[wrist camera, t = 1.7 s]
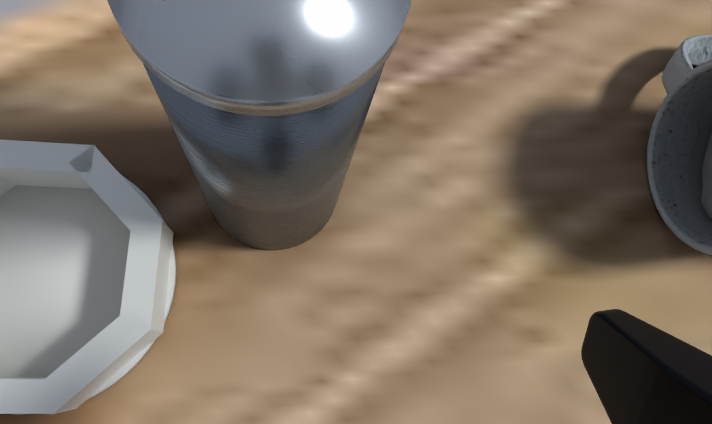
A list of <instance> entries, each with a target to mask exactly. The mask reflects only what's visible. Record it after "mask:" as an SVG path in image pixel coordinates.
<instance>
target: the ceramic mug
mask: <svg viewBox="0 0 712 424" xmlns="http://www.w3.org/2000/svg"><path fill="white" fill-rule="evenodd" d="M692 65H699V66H697V67H696V68H694V69H693V67H692ZM662 80H663V84H664V87H665V90H666V92H667V96H666V97H665V99H664V101H663V103H662V105H661V106H660V108H659V109H658V111H657V114H656V117H655V119H654V122H653V124H652V127H651V132H650V136H649V141H648V147H647V173H648V180H649V186H650V190H651V193H652V197H653V200H654V202H655V205H656V208H657V210H658V212H659V214H660V215H661V217H662V219H663V220H664V222H665V224H666V225H667V226H668V227H669V228H670V229H671V231H672V232H673V233H674V234H675V235H676V236H677V237H678V238H679V239H680V240H681V241H683V242H684V243H686V244H687V245H689V246H690V247H692V248H694V249H696V250H698V251H700V252H702V253H705V254H708V255H711V256H712V35H699V36H693V37H690V38H687V39H686V40H685V41H683V42H682V43H681V45H680V46H679V47H678V48H677V50H676V51H675V53H674V54H673V56H672V57H671V59H670V60H669V62H668V63H667V65H666V67H665V69H664V71H663V75H662Z"/></svg>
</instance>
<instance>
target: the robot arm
mask: <svg viewBox="0 0 712 424" xmlns="http://www.w3.org/2000/svg"><path fill="white" fill-rule="evenodd" d="M581 355H582V360H583V364H584V366H585V368H586V370H587V373H588V375H589V377H590V379H591V381H592V383H593V385H594V387H595V389H596V392H597V394H598V396H599V398H600V400H601V402H602V404H603V406H604V408H605V410H606V413H607V415H608V417H609V419H610V421H611V423H612V424H712V356H711V355H709V354H707V353H705V352H703V351H701V350H699V349H697V348H695V347H693V346H691V345H689V344H687V343H685V342H683V341H682V340H680V339H678V338H676V337H674V336H672V335H670V334H668V333H666V332H664V331H662V330H660V329H658V328H656V327H654V326H652V325H650V324H648V323H646V322H644V321H642V320H640V319H638V318H636V317H634V316H632V315H630V314H628V313H626V312H624V311H622V310H619V309H612V310H605V311H598V312H595V313H594V314H593V315H592V316H591V317H590V320H589V324H588V327H587V331H586V334H585V338H584V342H583V345H582V352H581Z"/></svg>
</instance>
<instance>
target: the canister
mask: <svg viewBox="0 0 712 424" xmlns="http://www.w3.org/2000/svg"><path fill="white" fill-rule="evenodd" d="M107 1H108V3H109V5H110V8H111V10H112V12H113V15H114V17H115V19H116V21H117V23H118V25H119V27H120V29H121V31H122V33H123V35H124V37H125V39H126V40H127V42H128V44H129V45H130V47H131V48H132V50H133V52H134V53H135V54H136V55H137V56H138V58H139V59H140V60H141V61H142V62H143V64H144V67H145V69H146V71H147V73H148V75H149V77H150V80H151V82H152V84H153V86H154V88H155V90H156V93H157V95H158V97H159V99H160V101H161V103H162V105H163V108H164V110H165V112H166V114H167V116H168V118H169V121H170V123H171V125H172V127H173V129H174V131H175V134H176V136H177V138H178V140H179V142H180V144H181V146H182V149H183V151H184V153H185V155H186V157H187V159H188V162H189V164H190V166H191V168H192V170H193V172H194V175H195V177H196V179H197V181H198V183H199V185H200V187H201V190H202V192H203V194H204V196H205V198H206V200H207V203H208V205H209V207H210V209H211V211H212V213H213V215H214V217H215V219H216V220H217V222H218V223H219V225H220V226H221V227H222V228H223V230H225V231H226V232H227V233H228V234H229V235H230V236H231V237H233V238H234V239H236V240H237V241H239V242H241V243H243V244H245V245H248V246H250V247H253V248H257V249H263V250H282V249H288V248H291V247H295V246H297V245H300V244H302V243H304V242H306V241H308V240H309V239H311V238H312V237H313V236H315V235H316V234H317V233H318V232H319V231H320V230H321V229H322V228H323V227H324V226H325V224H326V223H327V222H328V220H329V219H330V217H331V215H332V213H333V210H334V208H335V205H336V202H337V199H338V196H339V193H340V191H341V188H342V185H343V182H344V179H345V176H346V173H347V170H348V167H349V165H350V162H351V159H352V156H353V153H354V150H355V147H356V144H357V142H358V139H359V136H360V133H361V130H362V127H363V124H364V121H365V118H366V116H367V113H368V110H369V107H370V104H371V101H372V98H373V95H374V93H375V90H376V87H377V84H378V81H379V78H380V75H381V72H382V69H383V67H384V64H385V61H386V60H387V59H388V57H389V56H390V54H391V52H392V50H393V49H394V47H395V45H396V43H397V41H398V38H399V36H400V33H401V31H402V28H403V25H404V23H405V20H406V17H407V14H408V12H409V9H410V5H411V0H107Z"/></svg>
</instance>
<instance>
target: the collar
mask: <svg viewBox="0 0 712 424" xmlns="http://www.w3.org/2000/svg"><path fill="white" fill-rule="evenodd" d="M173 234H174V233H173V231H172V230H171V229H170V228H169V227H168V225H167V224H166V223H165V221H164V220H163V218H162V216H161V215H160V213H159V211H158V210H157V208H156V207H155V206H154V205H153V203H152V202H151V201H150V200H149V198H148V197H147V196H146V195H145V194H144V193H143V192H142V191H141V190H140V189H139V188H138V187H137V186H136V185H135V184H133V183H132V182H130V181H129V180H128V179H126V178H125V177H123V176H122V175H121V174H120V173H119V172H118V171H117V170H116V169H115V168H114V167H113V166H112V165H111V163H110V162H109V161H108V160H107V159H106V158H105V157H104V156H103V154H102V153H101V152H100V151H99V150H98V149H97V147H96V146H95V145H83V144H66V143H50V142H33V141H16V140H0V414H18V415H19V414H57V413H61V412H65V411H70V410H74V409H77V408H78V407H79V406H80V405H81V404H82V403H83V402H85V401H86V400H87V399H89V398H91V397H93V396H96V395H98V394H99V393H101V392H102V391H104V390H106V389H107V388H109V387H111V386H112V385H114V384H115V383H116V382H118V381H119V380H120V379H121V378H123V377H124V376H125V375H126V374H128V373H129V372H130V371H131V370H132V369H133V368H134V367H135V366H136V365H137V364H138V363H139V362H140V361H141V360H142V358H143V357H144V356H145V355H146V353H147V352H148V351H149V350H150V348H151V347H152V346H153V344H154V342H155V341H156V339H157V337H159V336H160V335H161V334H162V333H163V329H164V324H165V322H166V320H167V318H168V315H169V312H170V309H171V306H172V302H173V299H174V293H175V287H176V270H177V267H176V257H175V250H174V246H173Z"/></svg>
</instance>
